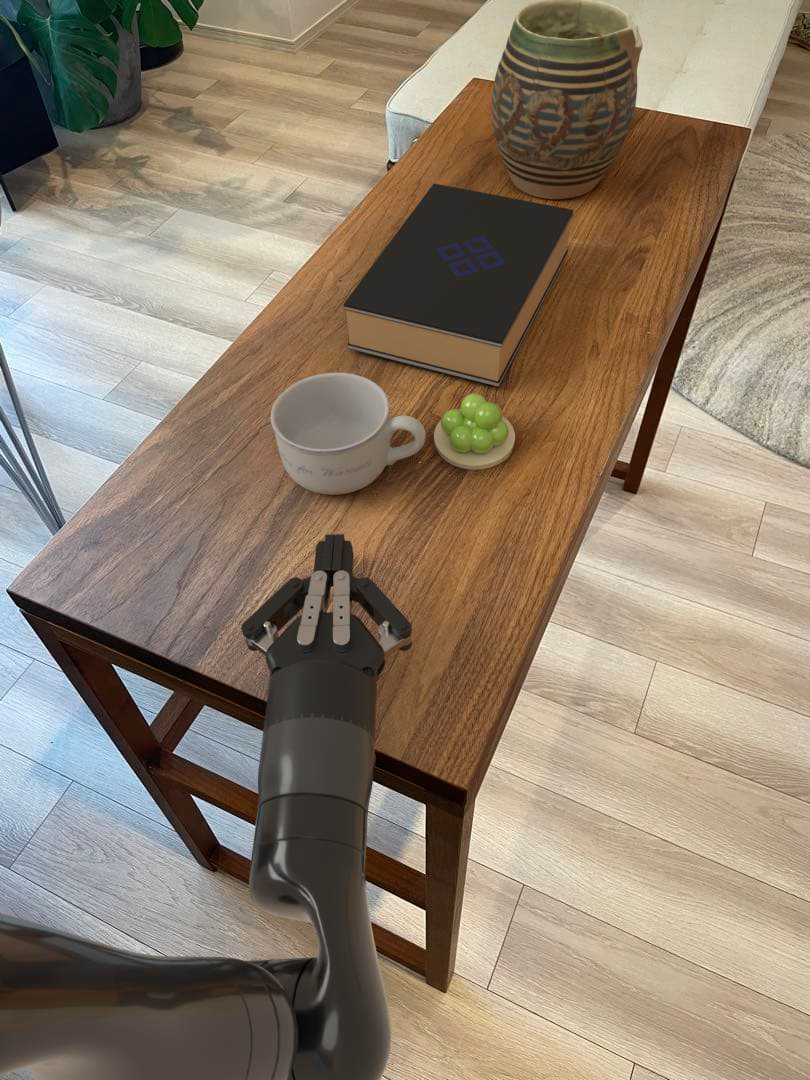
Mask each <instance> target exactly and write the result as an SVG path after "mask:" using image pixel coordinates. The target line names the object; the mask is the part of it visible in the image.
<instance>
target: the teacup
mask: <svg viewBox="0 0 810 1080" xmlns="http://www.w3.org/2000/svg"><path fill="white" fill-rule="evenodd" d="M269 417H270V423H271V427H272V429H273V431H274V436H275V441H276V444H277V449H278V452H279V456H280V459H281V463H282V465H283V467H284V469H285V471H286V473H287V474H288V475H289V477H290V478H291V479H292V480H293V482H294V483H296V484H297V485H298V486H300V487H302V488H303V489H306V490H307V491H310V492H313V493H316V494H321V495H328V496H329V495H330V496H331V495H332V496H335V495H337V496H338V495H345V494H349V493H350V494H351V493H354V492H356V491H359V490H361V489H364V488H365V487H367V486H369V485H370V484H372V483H373V482H374V481H375V480H376V479H377V478H378V477H380V475H381V474H382V473H383V471H384V470H385V467H386V466H392V465H393V464H395V463H396V462H397V461H399V460H403V459H406V458H408V457H409V458H410V457H411V456H413V455H415V454H417V453H418V452H419V451H421V449H422V448H423V447H424V445H425V441H426V435H427V434H426V430H425V427H424V425H423V424H422V423H421V422H420V420H419V419H417V418H415V417H413V416H410V415H405V414H404V415H397V416H394V417H392V418H389V417H390V402H389V398H388V395H387V394H386V393H385V391H384V390H383V388H382V387H381V386H380V385H378V384H377V383H375V382H374V381H373V380H371V379H369V378H366V377H365V376H361V375H359V374H355V373H350V372H325V373H320V374H315V375H311V376H307V377H304V378H303V379H300V380H298V381H296V382H295V383H292V384H291V385H290V386H288V387H287V388H286V389H285V390H284V391H283V392H282V393H280V394H279V396H278V397H276V399H275V401H274V402H273V404H272V407H271V411H270V416H269ZM399 430H400V431H407V432H409V433H411V434H412V435H413V438H414V439H412V441H410V442H409V443H406V444H404V445H400V446H394V447H391V440H392V438H393V436H394V433H395V432H396V431H399Z"/></svg>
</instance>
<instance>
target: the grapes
mask: <svg viewBox="0 0 810 1080" xmlns="http://www.w3.org/2000/svg"><path fill="white" fill-rule="evenodd" d="M433 443H434V449H435V451H436V452H437V453H438V455H439V456H440V458H442V460H444V461H445V462H446V463H448V464H450V465H452V466H454V467H457V468H459V469H464V470H470V471H479V470H480V471H481V470H487V469H490V468H493V467H496V466H498V465H500V464H501V463H503V462H504V461H506V460H507V459H508V458H509V457H510V456H511V454H512V452H514V451H513V450H514V448H515V443H516V431H515V429H514V427H513V424H512V423H511V422H510V421H509V420H508V419H507V417H505V416H504V413H503V410H502V407H501V405H499V404H498V403H496V402H494V401H488V400H487V399H486V398H485V397H484V396H483V395H482V394H480V393H477V392H474V393H473V392H472V393H469V394H467V395H465V396H464V397H463V399H462V400H461V403H460V408H451V409H448V410H447V411H445V412H444V413H443V414H442V415H441V418H440V420H439V421H438V422H437V424H436V426H435V428H434V432H433Z"/></svg>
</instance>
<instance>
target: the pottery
mask: <svg viewBox="0 0 810 1080" xmlns="http://www.w3.org/2000/svg"><path fill="white" fill-rule="evenodd" d="M643 45H644V44H643V39H642V37H641V34H640V32H639V26H638V25H637V24H635V22H634V21H633V20H632V19H631V15H630V14H629V13H627V12H626V11H625V10H623V9H622V8H620V7H618V6H616V5H613V4H610V3H608V2H603V1H600V0H537V1H534V2H531V3H529V4H527V5H525V6H524V7H522V8H521V9H520V10H518V11H517V13H516V15H515V17H514V20H513V23H512V26H511V30H510V31H509V35H508V37H507V41H506V44H505V47H504V49H503V52H502V54H501V59H500V60H499V62H498V65H497V69H496V73H495V76H494V80H493V87H492V94H491V119H492V127H493V134H494V138H495V142H496V145H497V149H498V152H499V154H500V157H501V160H502V163H503V165H504V167H505V169H506V171H507V173H508V175H509V177H510V179H511V182H512V183H513V185H514V186H515V187H516V188H517V189H518V190H520V191H522V192H523V193H525V194H527V195H529V196H533V197H536V198H541V199H545V200H566V199H573V198H577V197H580V196H583V195H586V194H588V193H590V192H591V191H592V190H594V189H595V187H596V186H597V185H598V183H599V182H600V181H601V180H602V178H603V177H604V176H605V174H606V173H607V172H608V170H609V169H610V168H611V166H612V164H613V163H614V161H616V160H617V159H616V158H617V157H618V155H619V153H620V151H621V150H622V147H623V145H624V143H625V141H626V139H627V138H628V135H629V133H630V130H631V127H632V123H633V120H634V115H635V110H636V104H637V97H638V96H637V95H638V66H639V62H640V57H641V54H642V53H641V52H642V50H643Z"/></svg>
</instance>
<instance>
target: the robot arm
mask: <svg viewBox="0 0 810 1080" xmlns="http://www.w3.org/2000/svg"><path fill="white" fill-rule="evenodd" d="M354 560H355V557H354V548H353V544H352V542H351V540H346V538H345V534H344V533H333V534H332V533H328V534H325V535H324V540H318V542H317V544H316V546H315V556H314V563H313V572H312V574H311V575H310V576H308V577H306V578H303V579H301V578H300V577H291V578H289V580H288V581H286V582H285V583H284V584H283V585H282V586H281V587H280V588H279V589H277V591H275V592H274V593H273V594H272V595H271V596H270V597H269V598H268V599H267V600H266V601H265V602H264V603H263V604H262V605H261V606H260V607H258V608H257V610H255V612H253V613H252V614H251V615H250V616H249V617H248V618H247V619H245V621H244V622H243V623H242V624H241V628H240V629H241V633H242V636H243V639H244V642H245V644H246V646H247V648H248V650H250V651H251V652H257V651H258V652H259V653H261V654H262V655H263V656H265V662H266V664H267V668H268V671H269V672H270V675H269V676H270V677H269V682H268V683H269V684H268V691H267V699H266V708H265V715H264V723H263V729H262V730H263V732H262V739H261V745H260V746H261V747H260V752H259V753H260V755H259V761H258V770H257V794H258V795H257V811H256V818H255V825H254V833H253V842H252V848H251V849H252V850H251V858H250V860H251V861H250V866H249V867H250V868H249V877H248V889H249V896H250V899H251V900H252V902H253V904H254V905H255V906H256V907H257V908H258V909H260V910H261V911H263V912H264V913H267V914H269V915H271V916H276V917H279V918H283V919H288V920H293V921H299V922H304V923H308V924H311V925H312V927H313V929H314V933H315V935H316V939H317V947H318V948H317V953H318V954H317V956H316V957H315V956H313V957H311V956H309V957H293V958H277V959H274V958H272V959H254V960H244V959H240V958H235V957H224V956H184V955H183V956H177V955H176V956H175V955H174V956H173V955H172V956H171V955H170V956H169V955H167V956H166V955H152V954H147V953H142V952H141V953H140V952H136V951H131V950H128V949H124V948H120V947H116V946H112V945H110V944H106V943H103V942H99V941H95V940H93V939H89V938H86V937H84V936H81V935H77V934H74V933H71V932H68V931H65V930H62V929H59V928H55V927H52V926H48V925H45V924H41V923H39V922H35V921H31V920H28V919H24V918H22V917H17V916H13V915H9V914H5V913H3V912H0V1077H2V1076H5V1075H8V1074H11V1073H14V1072H16V1071H19V1070H22V1069H23V1070H24V1069H26V1068H28V1069H29V1070H30V1071H31V1073H32V1075H33V1077H35V1079H36V1080H381V1079H382V1077H383V1075H384V1072H385V1071H386V1068H387V1065H388V1061H389V1059H390V1054H391V1047H392V1036H393V1035H392V1033H393V1032H392V1029H393V1028H392V1017H391V1012H390V1005H389V999H388V994H387V991H386V990H387V989H386V986H385V982H384V978H383V975H382V970H381V965H380V961H379V956H378V953H377V948H376V943H375V939H374V932H373V927H372V926H373V925H372V920H371V913H370V907H369V906H370V905H369V900H368V890H367V879H366V870H367V845H368V844H367V843H368V842H367V841H368V820H369V819H368V818H369V817H368V816H369V808H370V807H369V806H370V802H371V796H372V790H373V784H374V770H375V769H374V768H375V767H376V761H377V760H376V759H377V755H376V750H375V749H376V748H375V744H376V725H377V723H376V721H377V697H378V680H379V677H380V675H381V674H382V672H383V671H384V669H385V666H386V658H388V657H390V655H392V654H393V653H395V652H396V651H398V650H399V651H402V652H407V651H409V650H410V649H411V648H412V647H413V630H412V623H411V621H409V619H407V618H406V617H405V615H404V614H403V613H402V612H401V611H400V609H398V607H396V605H395V604H394V603H393V602H392V601H391V600H390V599H389V598H388V597H387V595H386V594H385V593H384V592H383V591H382V590H381V588H379V587H378V586H377V585H376V583H375V582H374V581H373V580H372V579H371V578H370V577H364V576H363V577H361V578H359V577H355V576H354V575H353V574H354ZM332 587H333V589H332ZM331 589H332V590H333V594H332V611H330V612H329V605H330V599H331ZM353 602H355V603H358V604H359V606H360V607H361V608H362V609H363V610H364V612H366V614H367V615H368V616H369V618H371V619H372V621H373V622H374V623H375V624H376V625H377V626H378V627H377V631H378V638H379V641H378V640H377V638H376V637H375V636H374V634H373V633H371V631H370V630H369V628H368V627H367V626H366V624H365V623H364V622H363V621H362V620H361V619H360V617H358V616H357V615H355V614H354V613H353ZM301 610H302V614H300V615H299V616H298V617H296V618H295V619H294V620H293V621H292V623H290V624H289V625H288V626H287V627H286V629H285V630H284V631H283V632H282V633H280V635H279V632H280V631H281V630H282V629H283V628H284V627H285V626H286V625H287V624H288V623H289V622H290V621H291V620H292V619H293V618H294V617H295V616H296V615H297V614H298V613H299V612H300V611H301Z"/></svg>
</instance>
